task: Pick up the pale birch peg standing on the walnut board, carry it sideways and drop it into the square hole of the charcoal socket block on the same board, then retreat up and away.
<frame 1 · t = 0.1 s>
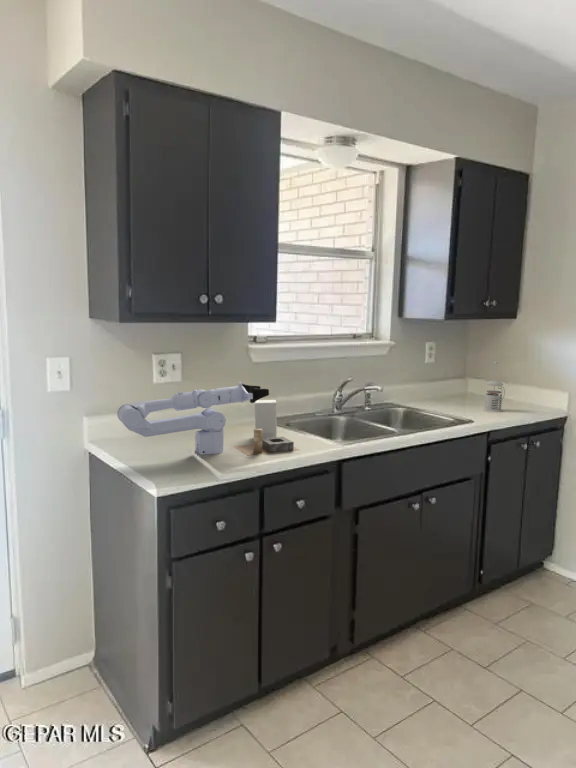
hand: (264, 390, 211), 22 cm above the worktop, tool horizontal, fingers open, 7 cm apart
socket board: (266, 451, 211), on the worktop
skincare box: (265, 441, 227), on the worktop
birch peg: (257, 452, 205), point 1 cm above the worktop, touching socket board
french press: (494, 410, 300), on the worktop
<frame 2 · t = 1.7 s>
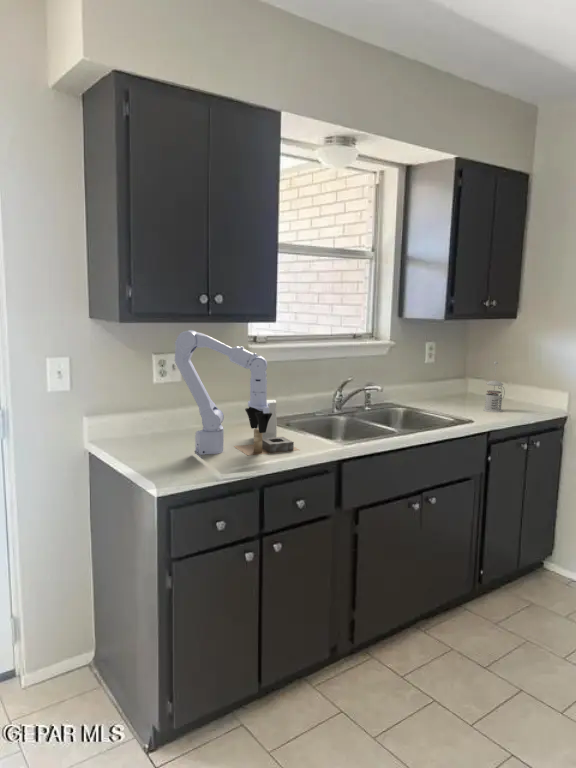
hand: (258, 430, 204), 9 cm above the worktop, tool pointing down, fingers open, 7 cm apart
nothing on the worktop moved.
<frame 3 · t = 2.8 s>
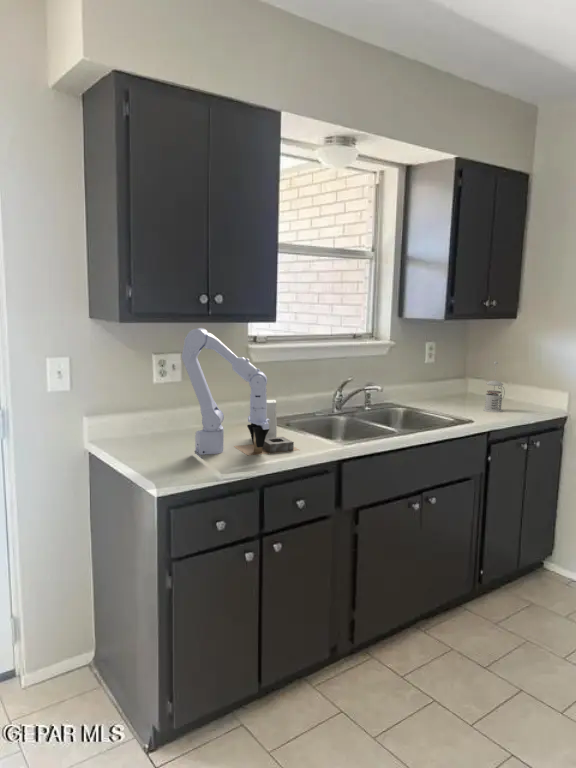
hand: (258, 445, 205), 3 cm above the worktop, tool pointing down, fingers closed on birch peg, 3 cm apart
birch peg: (257, 452, 205), point 1 cm above the worktop, touching gripper, socket board
everything else where it was.
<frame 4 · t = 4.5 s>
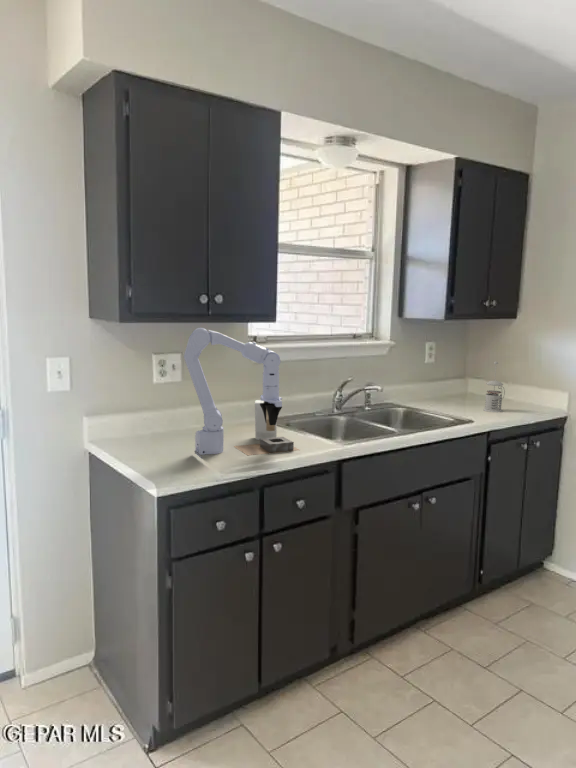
hand: (270, 423, 207), 11 cm above the worktop, tool pointing down, fingers closed on birch peg, 3 cm apart
birch peg: (270, 430, 207), point 8 cm above the worktop, touching gripper
everything else where it was.
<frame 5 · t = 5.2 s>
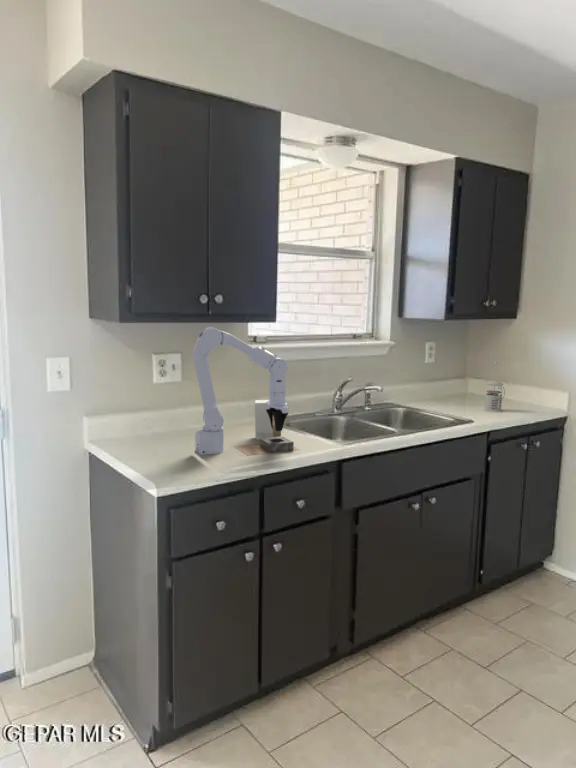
hand: (276, 429, 209), 8 cm above the worktop, tool pointing down, fingers closed on birch peg, 3 cm apart
birch peg: (276, 435, 210), point 6 cm above the worktop, touching gripper
everything else where it was.
when the fingers open (5 cm above the worktop, at t = 6.0 s): birch peg drops 2 cm, resting on socket board.
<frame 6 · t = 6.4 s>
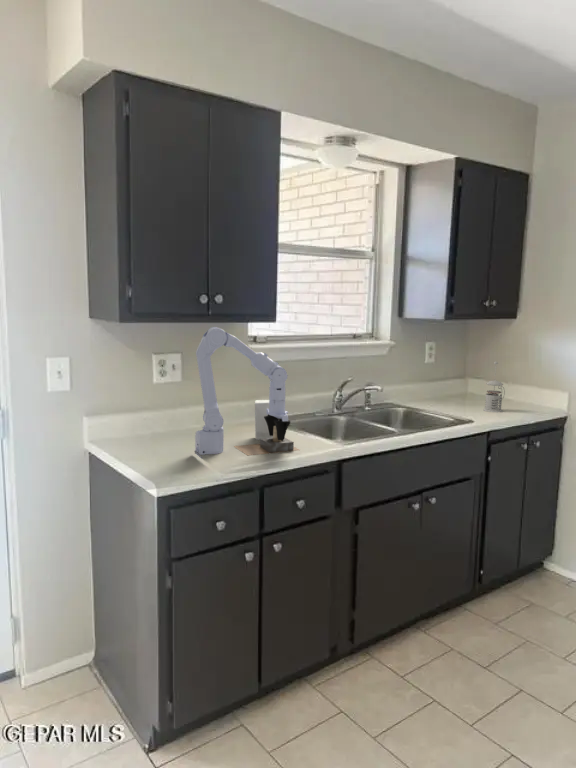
hand: (276, 437, 210), 5 cm above the worktop, tool pointing down, fingers open, 7 cm apart
birch peg: (276, 448, 210), point 1 cm above the worktop, touching socket board
everything else where it was.
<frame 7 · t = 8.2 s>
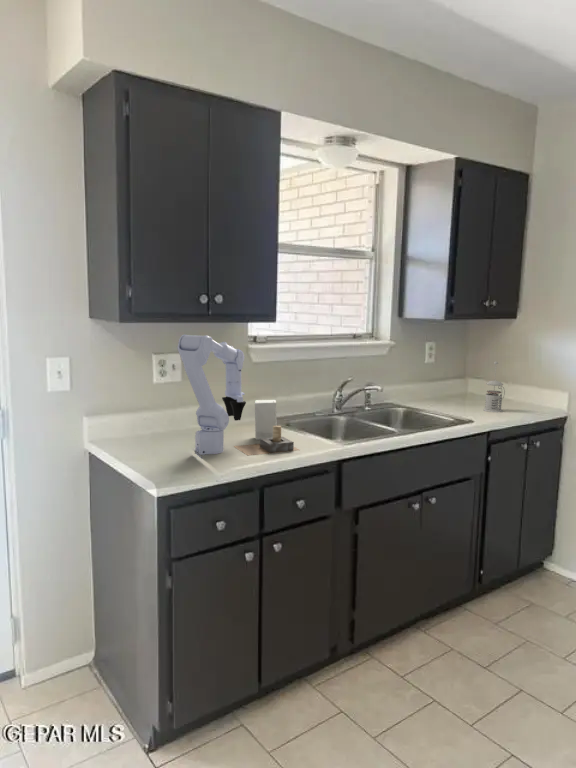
hand: (234, 418, 217), 10 cm above the worktop, tool pointing down, fingers open, 7 cm apart
nothing on the worktop moved.
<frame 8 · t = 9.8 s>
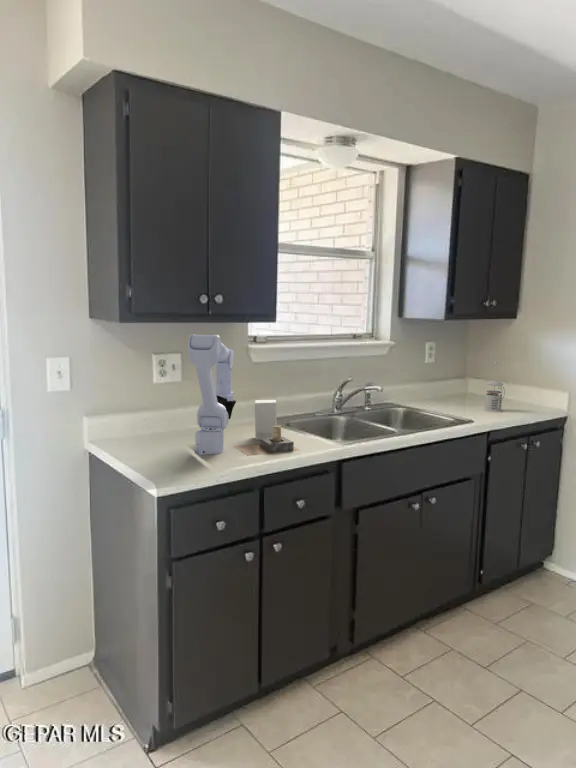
hand: (223, 417, 219), 10 cm above the worktop, tool pointing down, fingers open, 7 cm apart
nothing on the worktop moved.
at the end: birch peg 0.0 cm from the target spot on the socket board, point 1.3 cm above the socket board's base; birch peg tilted 3°; the gripper is holding nothing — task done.
